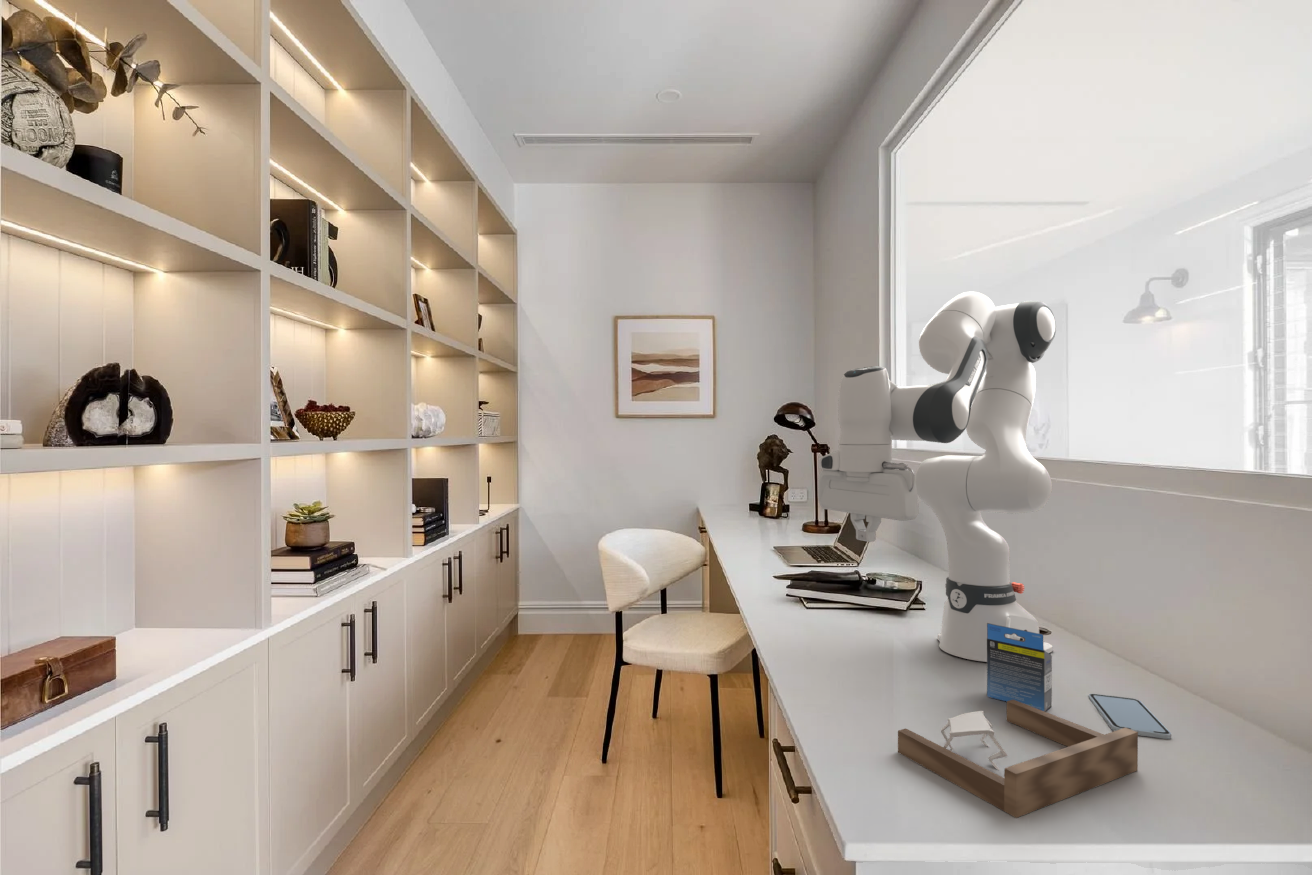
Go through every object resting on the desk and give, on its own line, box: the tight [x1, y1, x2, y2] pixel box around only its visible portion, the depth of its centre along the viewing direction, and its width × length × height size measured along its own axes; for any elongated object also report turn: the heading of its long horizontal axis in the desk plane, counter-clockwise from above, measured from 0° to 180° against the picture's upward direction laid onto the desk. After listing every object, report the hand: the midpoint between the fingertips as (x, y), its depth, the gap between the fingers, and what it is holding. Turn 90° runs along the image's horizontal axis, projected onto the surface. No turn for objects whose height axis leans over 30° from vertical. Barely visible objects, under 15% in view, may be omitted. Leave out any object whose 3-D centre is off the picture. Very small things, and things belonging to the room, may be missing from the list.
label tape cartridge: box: [986, 623, 1053, 712], centre depth 110 cm, size 9×4×12 cm, turn 42°
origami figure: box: [940, 710, 1008, 771], centre depth 91 cm, size 12×8×5 cm
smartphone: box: [1088, 693, 1172, 740], centre depth 104 cm, size 7×1×15 cm
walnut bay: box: [897, 700, 1139, 819], centre depth 90 cm, size 24×18×5 cm
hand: (865, 540), depth 117 cm, fingers closed
